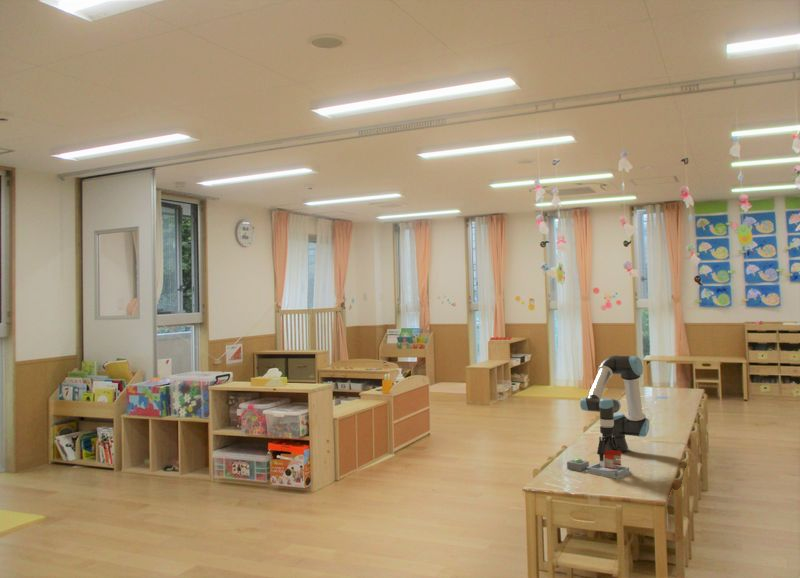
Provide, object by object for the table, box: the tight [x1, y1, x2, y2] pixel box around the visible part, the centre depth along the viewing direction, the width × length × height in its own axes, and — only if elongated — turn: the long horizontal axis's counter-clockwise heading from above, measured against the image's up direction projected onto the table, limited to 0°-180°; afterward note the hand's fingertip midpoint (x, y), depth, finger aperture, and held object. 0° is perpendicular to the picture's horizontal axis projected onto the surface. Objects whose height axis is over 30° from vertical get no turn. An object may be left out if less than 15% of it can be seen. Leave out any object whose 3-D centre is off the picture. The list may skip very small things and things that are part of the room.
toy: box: [599, 450, 623, 470], centre depth 358 cm, size 12×10×8 cm
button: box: [573, 457, 582, 463], centre depth 369 cm, size 4×4×4 cm
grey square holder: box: [566, 459, 590, 472], centre depth 369 cm, size 9×9×4 cm
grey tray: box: [584, 461, 632, 480], centre depth 359 cm, size 16×20×3 cm
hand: (607, 464), depth 359 cm, fingers open, 12 cm apart
